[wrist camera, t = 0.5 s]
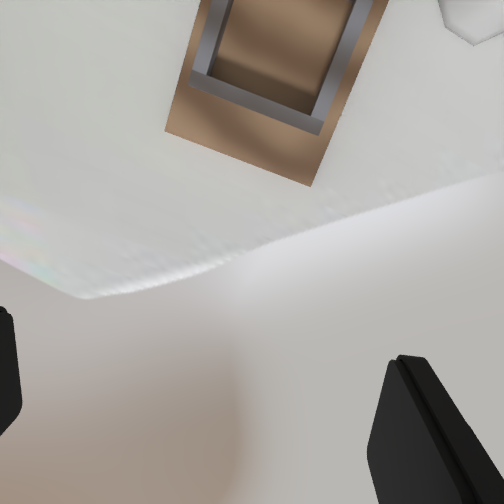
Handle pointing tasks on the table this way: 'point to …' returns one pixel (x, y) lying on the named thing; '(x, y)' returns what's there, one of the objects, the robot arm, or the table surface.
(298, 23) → the walnut board
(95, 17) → the table surface
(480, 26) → the flask
